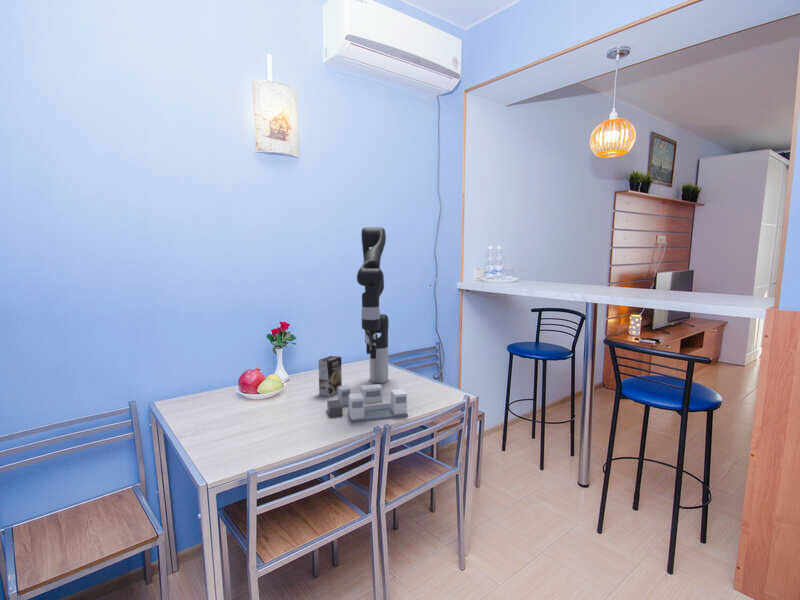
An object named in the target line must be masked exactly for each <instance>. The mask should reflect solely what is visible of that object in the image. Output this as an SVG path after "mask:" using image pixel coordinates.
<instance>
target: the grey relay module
mask: <svg viewBox="0 0 800 600" xmlns="http://www.w3.org/2000/svg"><path fill="white" fill-rule="evenodd" d="M349 394H351V388H350V387H349V386H348V385H345V384H344V385H342V386H339V387H338V393H337V400H340V402H341V405H342V407H345V406H347V407H348V406H349Z"/></svg>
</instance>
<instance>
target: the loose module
mask: <svg viewBox="0 0 800 600" xmlns="http://www.w3.org/2000/svg"><path fill="white" fill-rule="evenodd" d="M360 393H362V395H363V397H364V405H367V404H376V403H384V402H383V401H384V399H383V398H384V397H383V395H384V394H383V386H382V385H381V383H375V384H367V385H366V384H365V385H364V384H363V385H361V386H360Z"/></svg>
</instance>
